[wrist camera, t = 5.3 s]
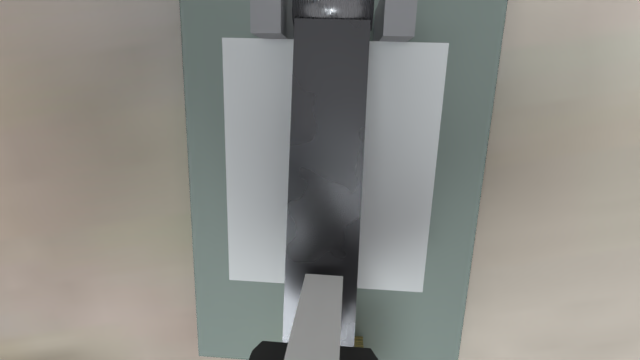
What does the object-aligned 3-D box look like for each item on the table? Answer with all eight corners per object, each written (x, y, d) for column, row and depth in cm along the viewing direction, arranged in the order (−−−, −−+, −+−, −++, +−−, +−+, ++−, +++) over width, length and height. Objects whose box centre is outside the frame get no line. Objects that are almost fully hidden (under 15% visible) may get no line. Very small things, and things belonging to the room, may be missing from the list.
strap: (297, 0, 16) (292, -15, 15) (372, 1, 16) (375, -13, 15) (284, 343, 18) (278, 360, 16) (354, 349, 17) (355, 366, 16)
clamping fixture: (181, -105, 21) (86, -212, 14) (515, -105, 20) (617, -221, 12) (203, 346, 28) (149, 444, 21) (452, 365, 27) (492, 477, 20)
